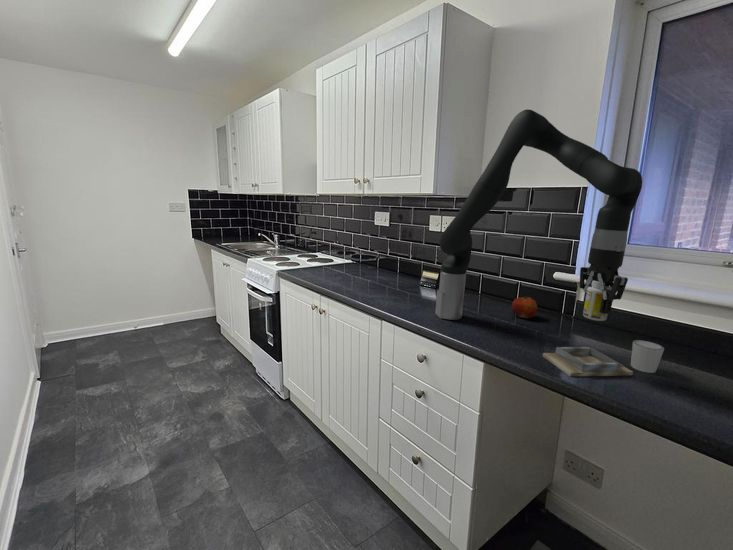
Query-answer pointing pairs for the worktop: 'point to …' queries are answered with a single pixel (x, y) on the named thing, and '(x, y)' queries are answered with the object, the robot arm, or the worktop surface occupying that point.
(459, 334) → the worktop surface
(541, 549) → the soap mold
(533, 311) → the tomato
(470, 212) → the robot arm
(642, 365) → the shot glass
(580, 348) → the holder
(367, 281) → the worktop surface
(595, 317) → the supplement bottle
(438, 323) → the worktop surface
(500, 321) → the worktop surface
